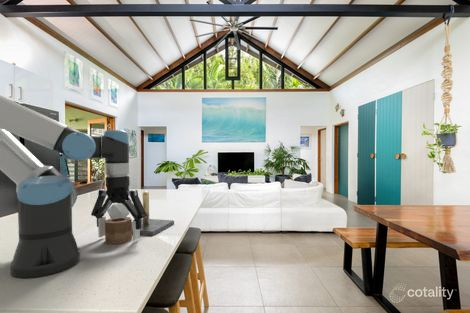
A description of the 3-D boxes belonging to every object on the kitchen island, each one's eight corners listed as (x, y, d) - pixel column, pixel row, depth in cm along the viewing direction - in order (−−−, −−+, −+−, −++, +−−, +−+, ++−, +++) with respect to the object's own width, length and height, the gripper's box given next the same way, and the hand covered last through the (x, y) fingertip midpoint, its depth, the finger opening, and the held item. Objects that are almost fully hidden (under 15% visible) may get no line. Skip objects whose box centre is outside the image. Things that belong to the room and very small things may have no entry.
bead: (121, 245, 86) (120, 223, 86) (100, 243, 88) (99, 222, 88) (136, 237, 94) (135, 217, 94) (116, 235, 96) (116, 216, 96)
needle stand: (153, 235, 96) (152, 194, 96) (115, 232, 100) (114, 193, 100) (174, 223, 111) (173, 188, 111) (140, 221, 115) (139, 188, 115)
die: (133, 220, 120) (129, 202, 124) (124, 215, 112) (121, 195, 117) (115, 228, 119) (112, 208, 124) (106, 223, 112) (102, 202, 116)
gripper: (156, 174, 91) (157, 236, 92) (95, 174, 98) (96, 231, 98) (143, 177, 84) (144, 243, 85) (78, 176, 90) (80, 238, 91)
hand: (119, 237), depth 91 cm, fingers open, 13 cm apart
